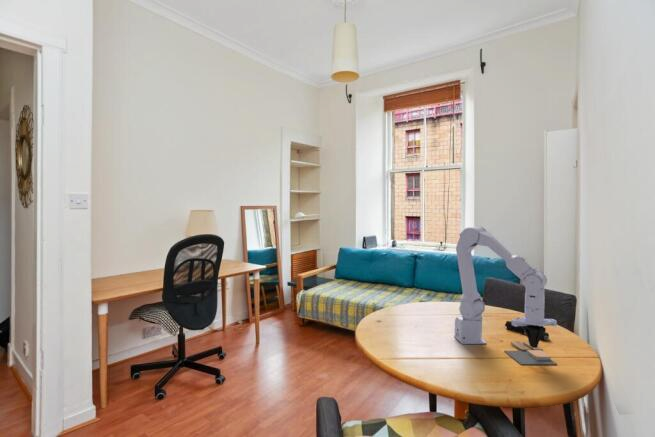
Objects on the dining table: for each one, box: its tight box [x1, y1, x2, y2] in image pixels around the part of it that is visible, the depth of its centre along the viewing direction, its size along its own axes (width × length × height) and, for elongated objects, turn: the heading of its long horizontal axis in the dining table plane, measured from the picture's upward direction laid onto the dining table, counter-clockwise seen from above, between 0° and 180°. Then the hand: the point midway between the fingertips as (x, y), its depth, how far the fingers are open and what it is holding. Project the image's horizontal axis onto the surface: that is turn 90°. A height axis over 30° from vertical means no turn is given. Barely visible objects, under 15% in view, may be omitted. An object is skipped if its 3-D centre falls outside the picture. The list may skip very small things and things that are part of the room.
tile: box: [527, 349, 552, 360], centre depth 115 cm, size 1×5×5 cm
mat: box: [503, 350, 558, 366], centre depth 115 cm, size 12×10×1 cm
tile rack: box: [510, 340, 544, 352], centre depth 123 cm, size 8×7×1 cm
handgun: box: [504, 317, 550, 341], centre depth 140 cm, size 3×17×12 cm
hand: (533, 346), depth 115 cm, fingers closed
